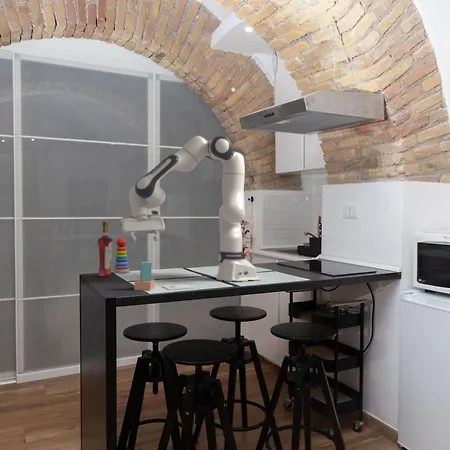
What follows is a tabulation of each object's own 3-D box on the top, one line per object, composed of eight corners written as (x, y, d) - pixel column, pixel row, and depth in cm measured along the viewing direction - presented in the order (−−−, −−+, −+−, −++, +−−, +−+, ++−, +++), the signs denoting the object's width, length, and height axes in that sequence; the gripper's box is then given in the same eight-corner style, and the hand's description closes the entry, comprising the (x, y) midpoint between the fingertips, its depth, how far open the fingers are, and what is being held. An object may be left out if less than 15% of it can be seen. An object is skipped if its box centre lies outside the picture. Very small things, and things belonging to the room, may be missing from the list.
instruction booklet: (186, 285, 220) (186, 283, 220) (194, 288, 212) (194, 286, 212) (161, 286, 215) (161, 285, 215) (168, 289, 207) (168, 288, 207)
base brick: (154, 288, 211) (154, 279, 211) (150, 291, 204) (150, 282, 204) (138, 287, 212) (138, 279, 212) (134, 290, 205) (134, 281, 205)
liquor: (102, 275, 246) (102, 221, 244) (115, 276, 243) (115, 221, 242) (94, 277, 239) (94, 221, 237) (107, 278, 236) (107, 222, 235)
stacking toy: (122, 270, 263) (123, 237, 262) (132, 272, 258) (132, 238, 257) (111, 272, 257) (111, 237, 256) (120, 273, 252) (120, 238, 251)
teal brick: (148, 279, 211) (149, 261, 211) (151, 281, 207) (151, 262, 207) (140, 279, 209) (140, 261, 209) (142, 281, 206) (142, 263, 205)
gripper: (120, 213, 222) (124, 238, 215) (163, 211, 230) (168, 236, 223) (118, 220, 227) (122, 245, 221) (160, 218, 235) (165, 242, 228)
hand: (146, 240), depth 222 cm, fingers open, 8 cm apart
